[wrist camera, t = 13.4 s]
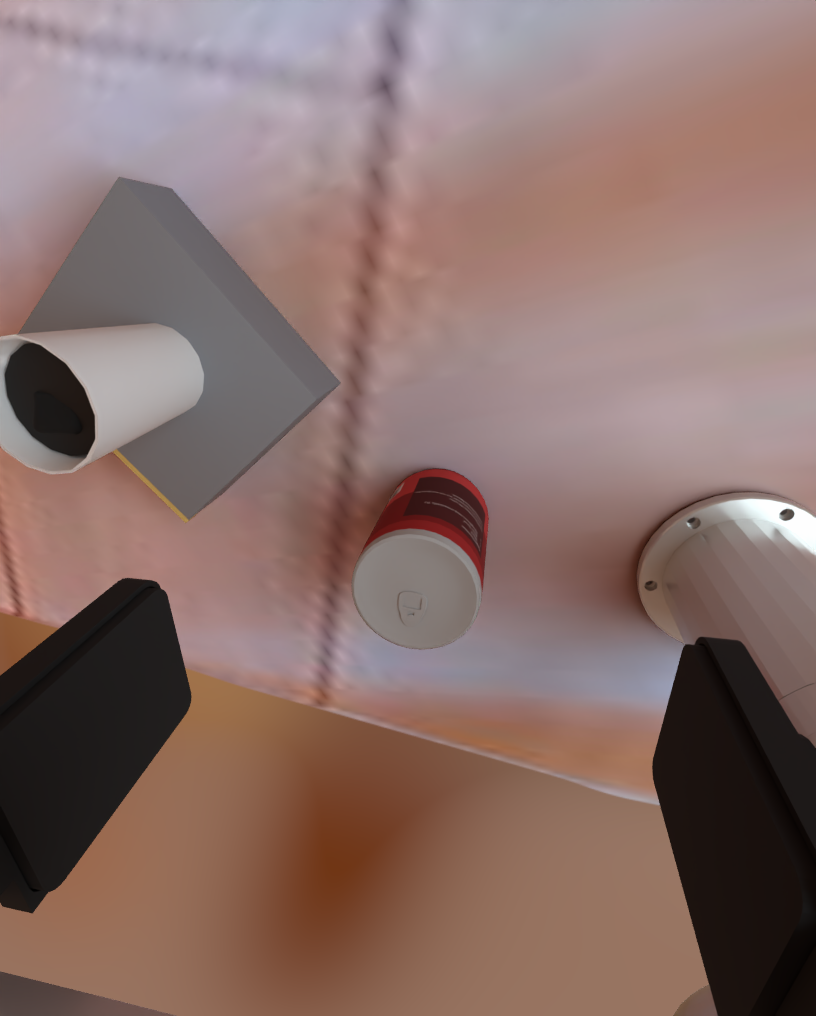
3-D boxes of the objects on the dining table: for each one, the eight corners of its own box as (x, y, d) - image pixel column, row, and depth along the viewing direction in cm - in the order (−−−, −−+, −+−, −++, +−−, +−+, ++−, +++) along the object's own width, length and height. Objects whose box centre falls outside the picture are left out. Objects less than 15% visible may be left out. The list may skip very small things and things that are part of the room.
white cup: (215, 426, 34) (111, 482, 25) (124, 416, 35) (-8, 466, 26) (204, 319, 31) (82, 340, 22) (105, 311, 32) (-51, 328, 23)
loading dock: (340, 383, 37) (316, 399, 32) (218, 497, 43) (184, 524, 38) (171, 188, 33) (118, 176, 29) (64, 341, 39) (7, 351, 35)
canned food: (399, 562, 42) (365, 652, 32) (380, 470, 39) (335, 538, 29) (495, 556, 40) (489, 650, 30) (483, 459, 37) (472, 528, 27)
